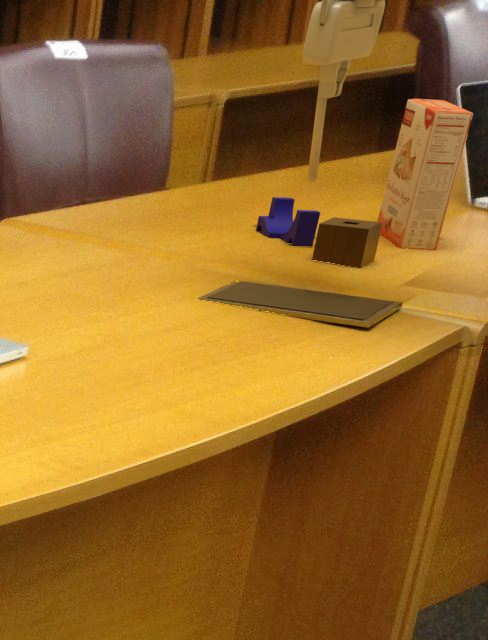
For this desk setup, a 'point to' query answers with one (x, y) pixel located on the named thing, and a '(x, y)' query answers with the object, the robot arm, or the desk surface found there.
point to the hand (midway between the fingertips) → (329, 97)
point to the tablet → (305, 303)
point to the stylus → (317, 138)
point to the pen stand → (347, 241)
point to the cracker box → (423, 172)
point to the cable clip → (289, 223)
